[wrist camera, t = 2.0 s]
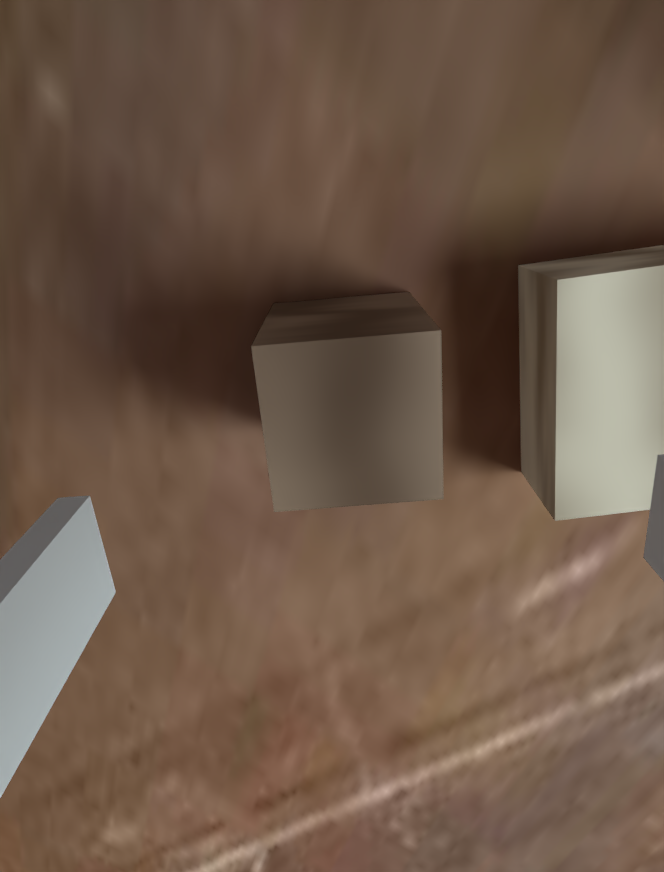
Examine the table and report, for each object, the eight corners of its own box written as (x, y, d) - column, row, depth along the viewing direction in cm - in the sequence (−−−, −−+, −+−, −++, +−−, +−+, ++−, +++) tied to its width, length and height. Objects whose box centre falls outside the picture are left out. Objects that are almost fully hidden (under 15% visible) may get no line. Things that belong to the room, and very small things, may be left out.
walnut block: (288, 428, 28) (273, 512, 21) (273, 303, 26) (251, 346, 18) (413, 418, 28) (443, 499, 21) (408, 291, 26) (441, 330, 18)
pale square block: (519, 469, 29) (554, 520, 25) (516, 264, 26) (557, 279, 21) (723, 444, 29) (798, 492, 24) (751, 231, 25) (846, 239, 20)
